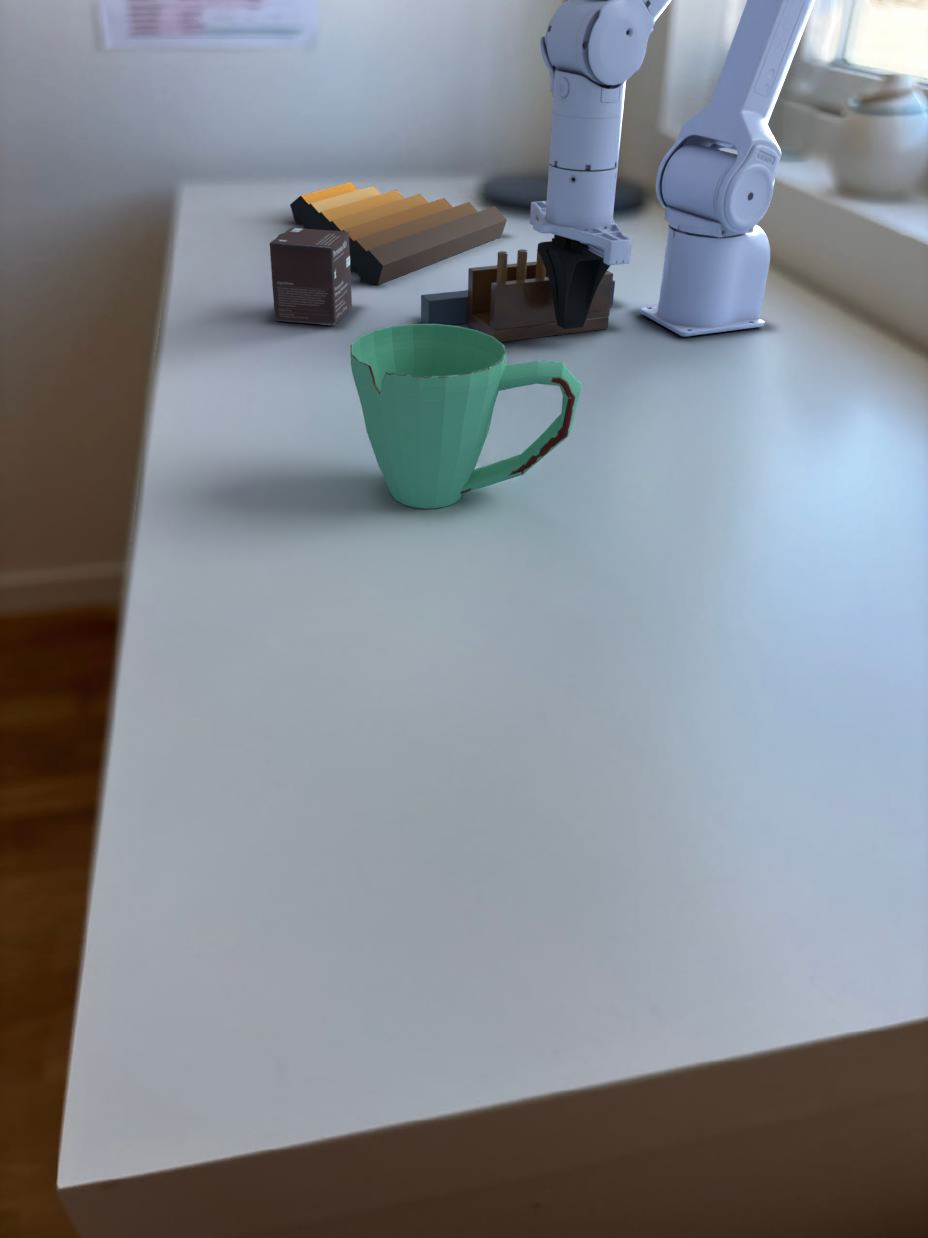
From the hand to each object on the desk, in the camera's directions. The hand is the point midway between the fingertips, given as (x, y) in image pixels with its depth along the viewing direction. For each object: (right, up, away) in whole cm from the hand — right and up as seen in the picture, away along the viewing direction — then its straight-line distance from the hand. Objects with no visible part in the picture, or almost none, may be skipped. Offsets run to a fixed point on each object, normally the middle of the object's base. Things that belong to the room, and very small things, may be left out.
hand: (570, 325), depth 98 cm
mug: (-10, -18, -24) cm, 32 cm away
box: (-24, +3, +7) cm, 25 cm away
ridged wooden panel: (-22, +18, +30) cm, 41 cm away
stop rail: (-4, +4, +9) cm, 10 cm away
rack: (-3, +2, +6) cm, 6 cm away
